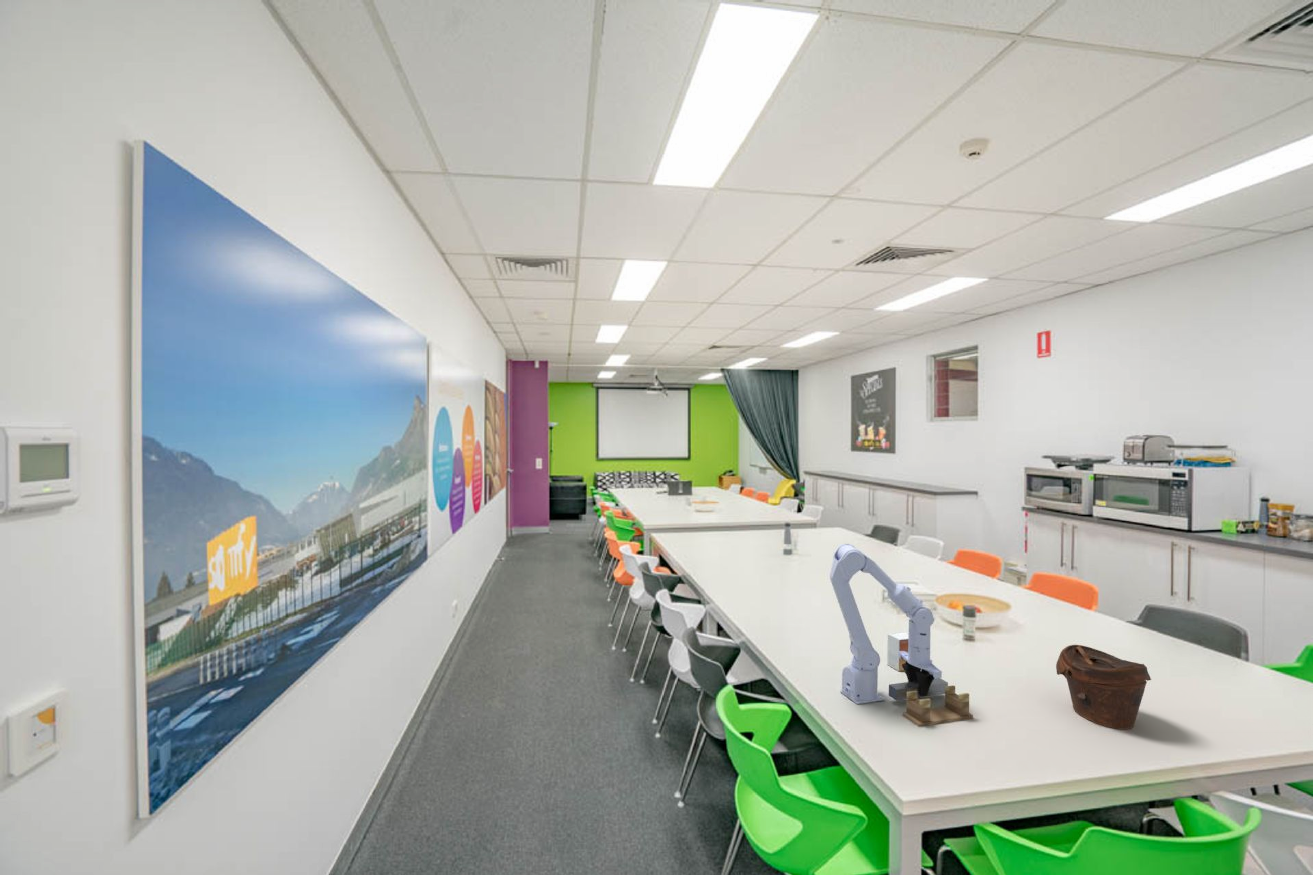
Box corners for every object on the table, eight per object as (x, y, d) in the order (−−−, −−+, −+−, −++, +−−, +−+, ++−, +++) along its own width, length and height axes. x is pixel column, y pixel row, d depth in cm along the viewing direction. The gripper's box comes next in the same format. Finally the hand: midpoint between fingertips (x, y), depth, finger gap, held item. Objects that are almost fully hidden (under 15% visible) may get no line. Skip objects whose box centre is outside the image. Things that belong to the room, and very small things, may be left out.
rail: (896, 700, 147) (896, 689, 147) (888, 695, 150) (888, 684, 150) (947, 693, 152) (948, 682, 152) (939, 688, 155) (939, 677, 155)
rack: (918, 726, 136) (919, 702, 137) (902, 715, 142) (902, 691, 142) (973, 718, 141) (973, 694, 141) (955, 707, 147) (955, 684, 147)
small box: (898, 671, 170) (899, 639, 170) (886, 664, 175) (887, 633, 175) (918, 669, 172) (919, 637, 172) (906, 662, 177) (906, 631, 177)
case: (1056, 692, 157) (1057, 633, 157) (1147, 715, 144) (1148, 651, 144) (1054, 716, 143) (1055, 652, 143) (1154, 744, 131) (1155, 673, 130)
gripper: (950, 654, 145) (950, 702, 145) (911, 635, 159) (911, 679, 159) (930, 656, 143) (929, 705, 143) (892, 637, 157) (892, 682, 157)
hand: (918, 692), depth 151 cm, fingers closed on rail, 3 cm apart
